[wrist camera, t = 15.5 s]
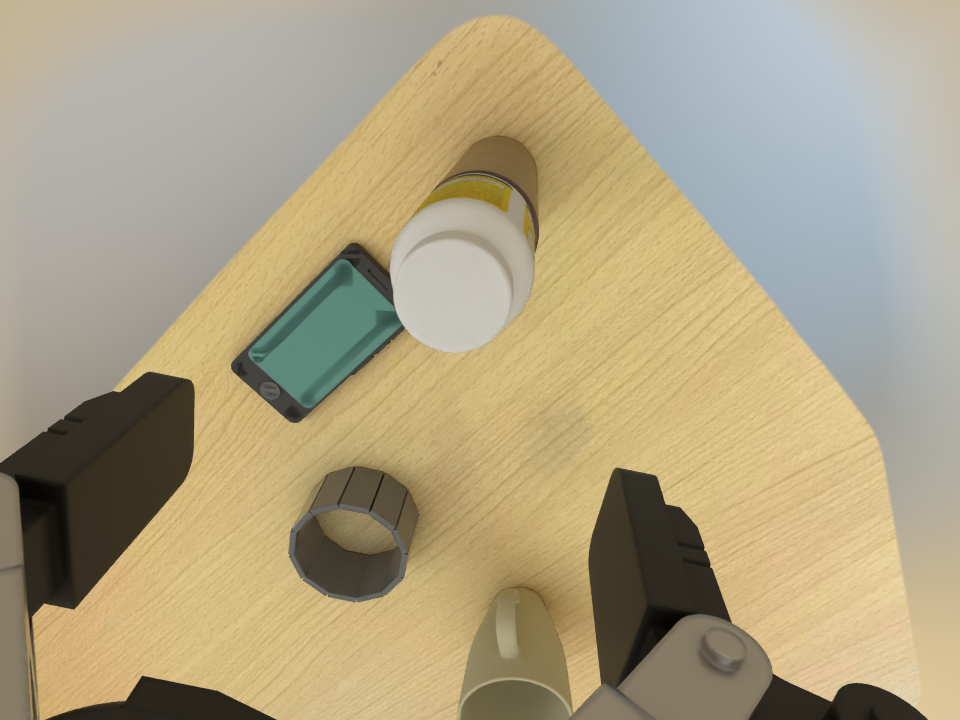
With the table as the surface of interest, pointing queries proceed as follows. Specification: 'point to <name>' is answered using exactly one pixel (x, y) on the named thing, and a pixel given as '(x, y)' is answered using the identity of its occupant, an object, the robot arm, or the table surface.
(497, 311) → the supplement bottle
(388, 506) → the grey ring
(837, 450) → the table surface
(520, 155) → the brown metal stand
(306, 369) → the smartphone
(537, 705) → the mug
